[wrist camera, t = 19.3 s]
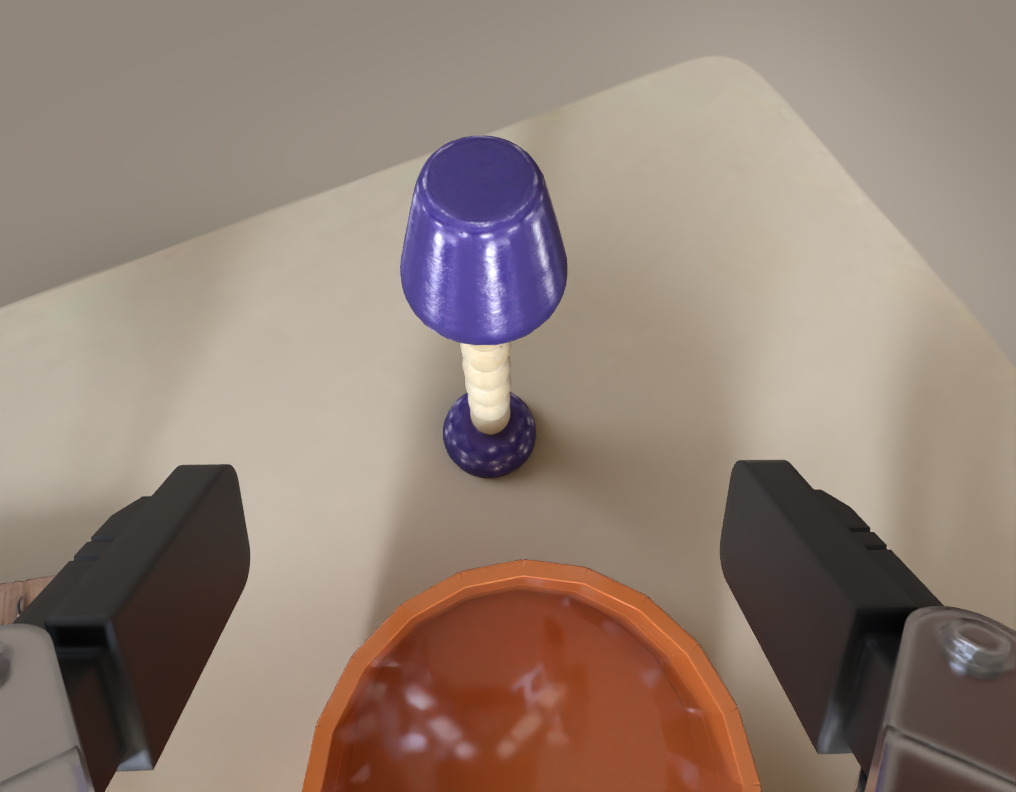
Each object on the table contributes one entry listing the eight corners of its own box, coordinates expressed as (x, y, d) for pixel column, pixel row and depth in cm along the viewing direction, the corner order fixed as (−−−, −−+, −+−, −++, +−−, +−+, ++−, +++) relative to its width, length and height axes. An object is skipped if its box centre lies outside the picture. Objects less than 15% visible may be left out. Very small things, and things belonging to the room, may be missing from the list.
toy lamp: (415, 447, 30) (341, 215, 15) (464, 364, 32) (443, 77, 16) (510, 494, 29) (538, 303, 14) (554, 407, 31) (623, 150, 16)
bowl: (357, 1056, 22) (321, 1166, 17) (320, 615, 27) (284, 604, 22) (760, 949, 23) (831, 1023, 19) (652, 550, 29) (686, 527, 24)
